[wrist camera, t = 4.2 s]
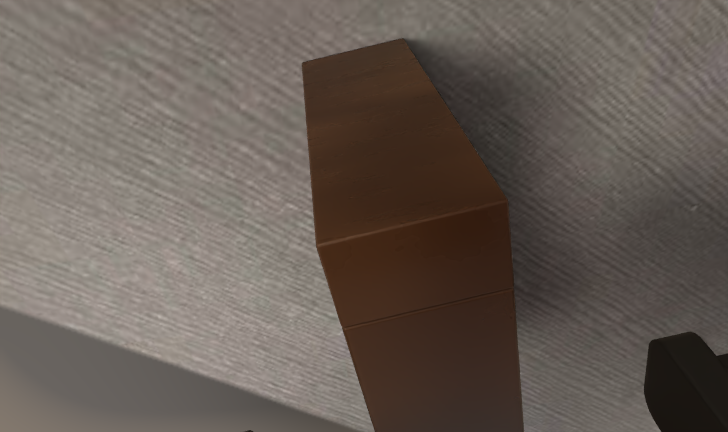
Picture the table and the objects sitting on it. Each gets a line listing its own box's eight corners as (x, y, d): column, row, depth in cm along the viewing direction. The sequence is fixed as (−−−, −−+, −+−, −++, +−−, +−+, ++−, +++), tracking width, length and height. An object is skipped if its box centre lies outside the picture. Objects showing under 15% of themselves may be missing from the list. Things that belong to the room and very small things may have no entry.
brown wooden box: (369, 312, 21) (414, 558, 14) (301, 62, 16) (315, 246, 8) (445, 294, 21) (532, 531, 14) (403, 37, 16) (508, 199, 8)
